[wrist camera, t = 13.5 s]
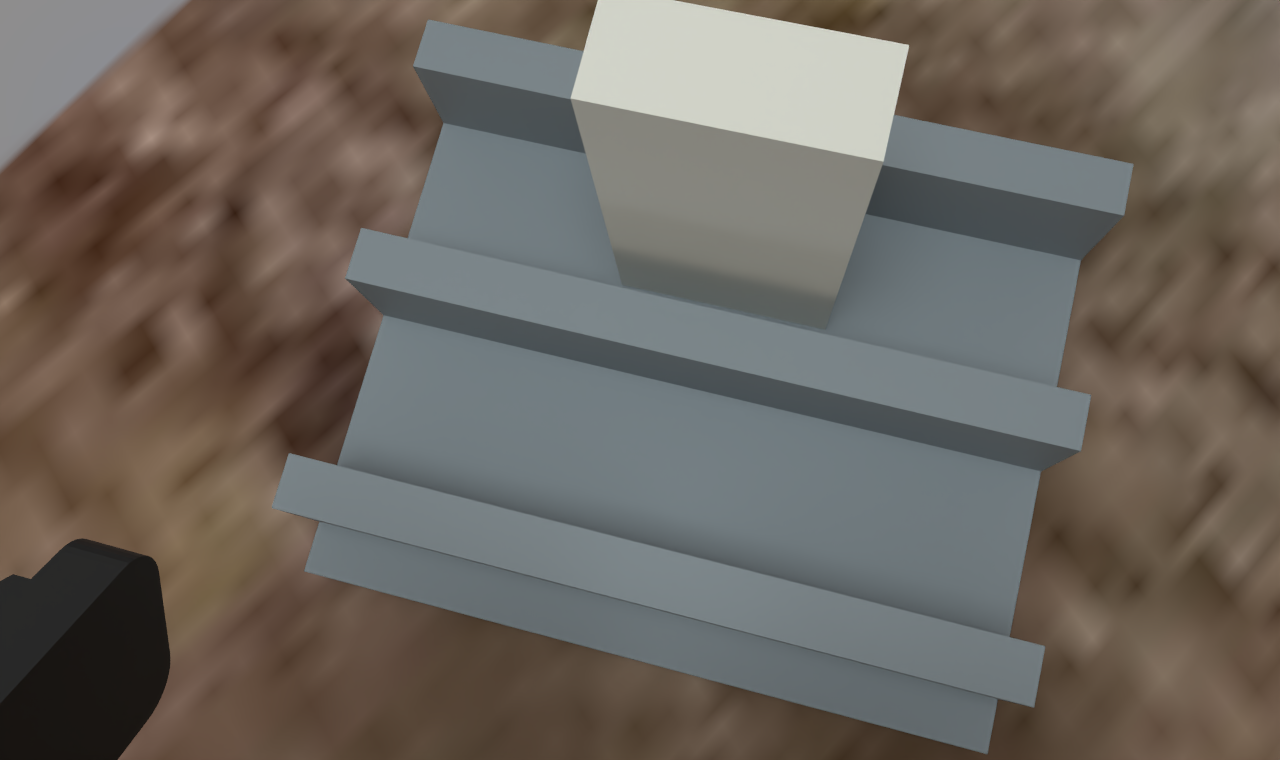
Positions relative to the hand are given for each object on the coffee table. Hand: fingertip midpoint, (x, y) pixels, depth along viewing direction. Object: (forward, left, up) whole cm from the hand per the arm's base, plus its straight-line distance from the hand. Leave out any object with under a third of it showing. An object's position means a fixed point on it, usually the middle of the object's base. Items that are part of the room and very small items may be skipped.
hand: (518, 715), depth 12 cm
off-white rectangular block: (-1, -10, -15) cm, 18 cm away
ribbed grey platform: (-1, -7, -16) cm, 18 cm away
